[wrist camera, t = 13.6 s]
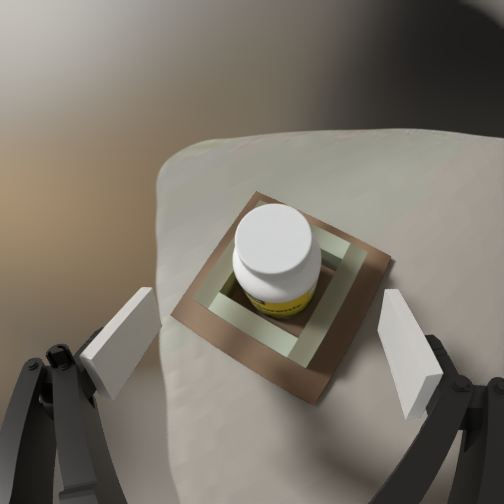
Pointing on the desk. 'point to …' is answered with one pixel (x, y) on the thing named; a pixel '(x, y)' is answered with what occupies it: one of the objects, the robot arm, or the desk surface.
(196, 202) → the desk surface
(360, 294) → the socket board
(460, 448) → the robot arm
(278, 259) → the supplement bottle
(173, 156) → the desk surface
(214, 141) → the desk surface
